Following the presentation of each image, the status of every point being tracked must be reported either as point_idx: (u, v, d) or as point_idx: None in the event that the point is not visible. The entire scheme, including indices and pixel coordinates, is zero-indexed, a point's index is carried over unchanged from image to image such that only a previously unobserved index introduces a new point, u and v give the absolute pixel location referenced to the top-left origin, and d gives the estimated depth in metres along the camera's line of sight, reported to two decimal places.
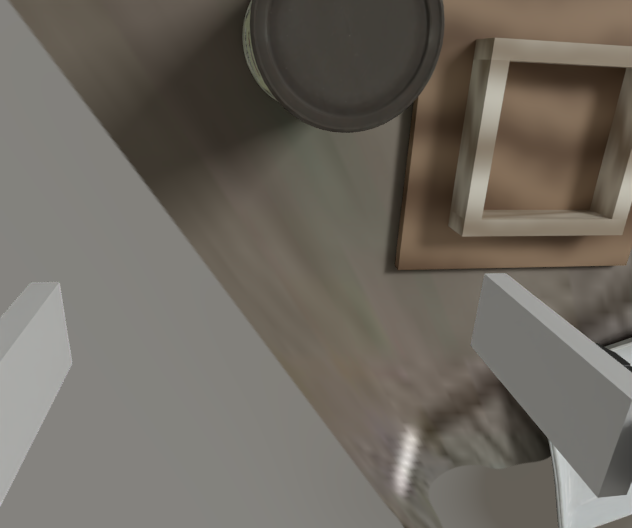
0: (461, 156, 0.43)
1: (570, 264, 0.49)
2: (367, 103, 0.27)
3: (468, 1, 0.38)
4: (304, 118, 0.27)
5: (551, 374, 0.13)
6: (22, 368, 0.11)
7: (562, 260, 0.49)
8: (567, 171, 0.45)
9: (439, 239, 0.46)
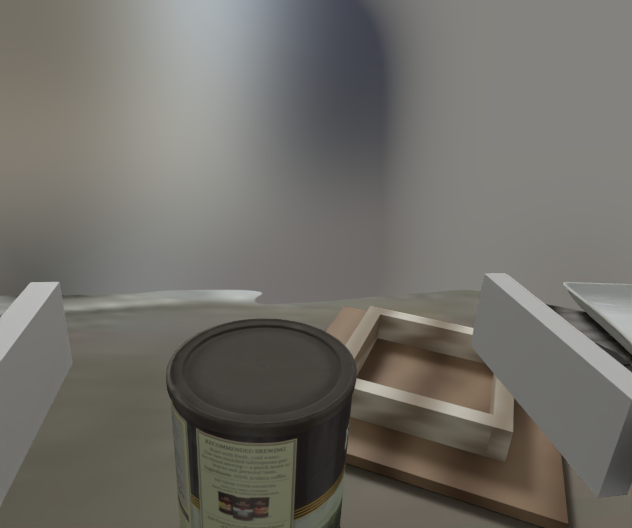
0: (425, 433, 0.41)
1: None
2: (331, 369, 0.27)
3: None
4: (325, 408, 0.24)
5: (551, 374, 0.13)
6: (22, 368, 0.11)
7: None
8: (454, 373, 0.50)
9: (522, 472, 0.38)
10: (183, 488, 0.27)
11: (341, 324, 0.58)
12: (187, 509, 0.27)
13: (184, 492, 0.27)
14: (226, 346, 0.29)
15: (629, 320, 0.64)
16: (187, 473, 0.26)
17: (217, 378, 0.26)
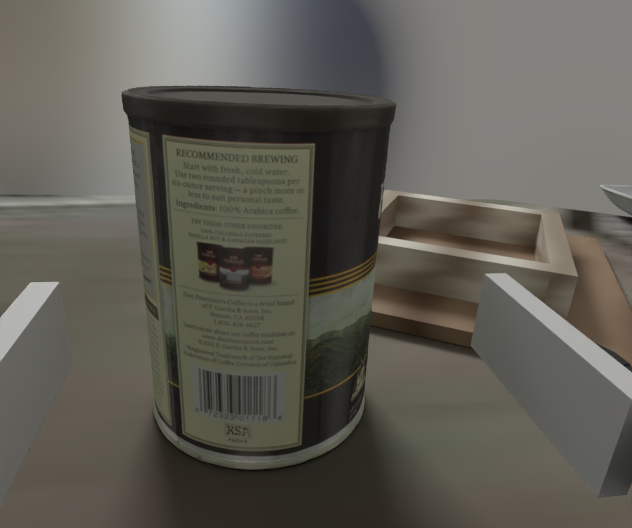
0: (464, 293, 0.33)
1: (604, 260, 0.42)
2: (359, 103, 0.19)
3: None
4: (356, 106, 0.16)
5: (551, 374, 0.13)
6: (22, 368, 0.11)
7: (600, 263, 0.41)
8: (488, 251, 0.42)
9: (590, 328, 0.30)
10: (149, 266, 0.19)
11: None
12: (156, 298, 0.19)
13: (151, 272, 0.19)
14: (210, 92, 0.21)
15: None
16: (152, 232, 0.18)
17: (197, 97, 0.18)
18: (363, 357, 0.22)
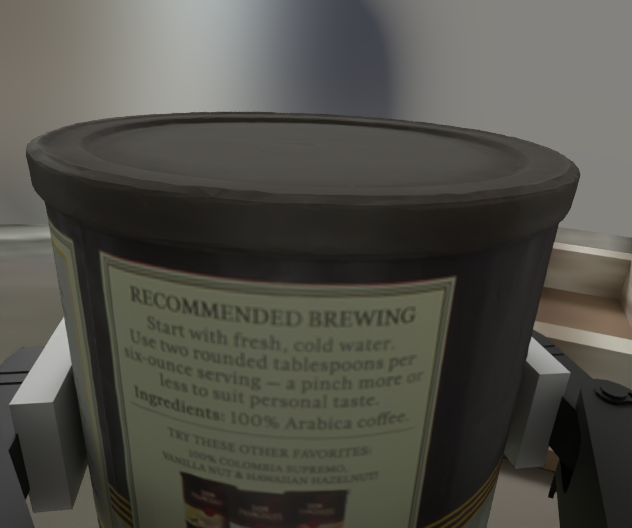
0: None
1: None
2: (487, 153, 0.10)
3: None
4: (542, 183, 0.07)
5: None
6: None
7: None
8: (566, 308, 0.33)
9: None
10: (93, 470, 0.10)
11: None
12: (106, 527, 0.10)
13: (96, 481, 0.10)
14: (211, 128, 0.12)
15: None
16: (93, 423, 0.09)
17: (183, 150, 0.09)
18: None
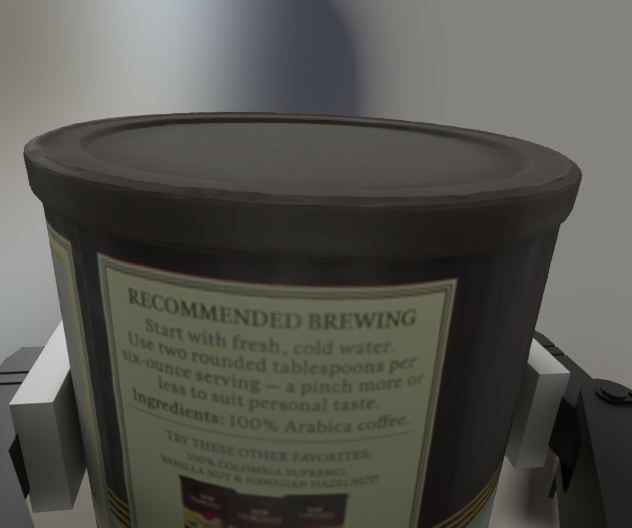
0: None
1: None
2: (488, 153, 0.10)
3: None
4: (544, 184, 0.07)
5: None
6: None
7: None
8: None
9: None
10: (91, 473, 0.10)
11: None
12: None
13: (95, 484, 0.10)
14: (210, 128, 0.12)
15: None
16: (92, 425, 0.09)
17: (182, 150, 0.09)
18: None
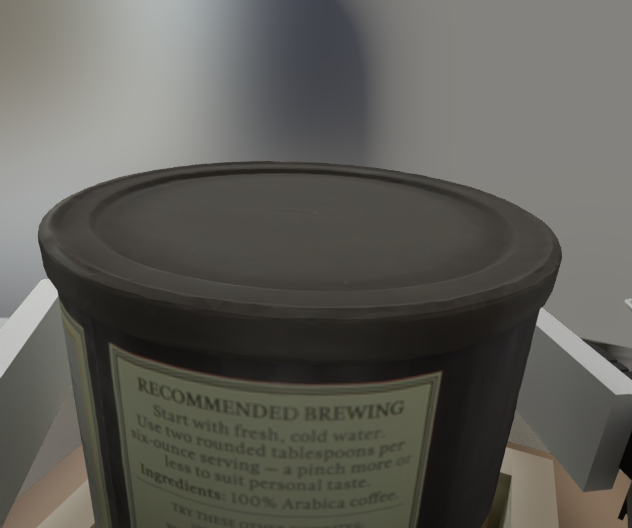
0: None
1: None
2: (477, 220, 0.11)
3: None
4: (524, 278, 0.08)
5: (539, 370, 0.13)
6: (36, 363, 0.12)
7: None
8: None
9: None
10: (99, 526, 0.10)
11: None
12: None
13: None
14: (212, 187, 0.12)
15: None
16: (101, 487, 0.09)
17: (187, 226, 0.10)
18: None
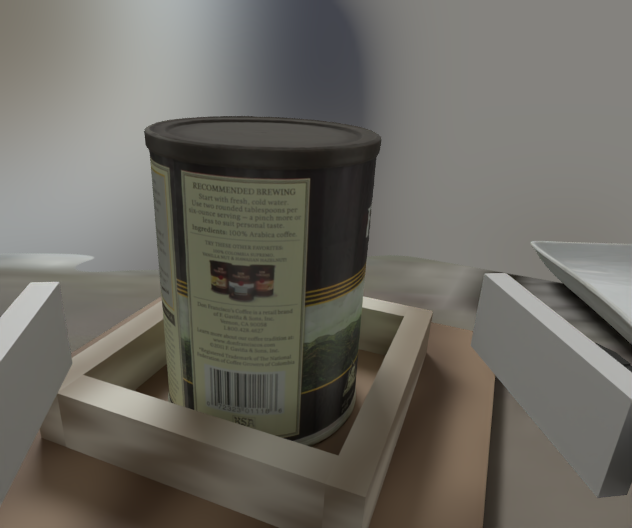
0: (210, 492, 0.20)
1: (490, 386, 0.29)
2: (349, 136, 0.22)
3: None
4: (345, 145, 0.19)
5: (551, 374, 0.13)
6: (22, 368, 0.11)
7: (481, 393, 0.28)
8: None
9: None
10: (167, 279, 0.22)
11: None
12: (172, 307, 0.22)
13: (168, 284, 0.22)
14: (219, 125, 0.24)
15: (625, 293, 0.43)
16: (171, 250, 0.21)
17: (208, 134, 0.21)
18: (354, 358, 0.25)
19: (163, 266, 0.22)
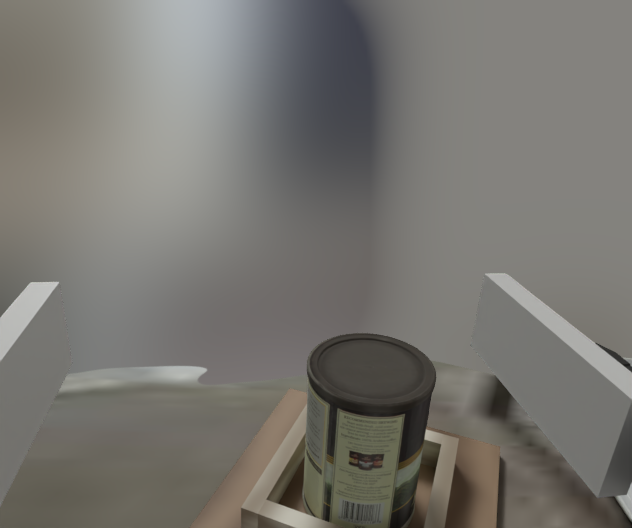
0: None
1: (495, 490, 0.47)
2: (417, 368, 0.40)
3: None
4: (421, 394, 0.37)
5: (551, 374, 0.13)
6: (22, 368, 0.11)
7: (490, 496, 0.46)
8: None
9: None
10: (319, 451, 0.39)
11: (282, 414, 0.55)
12: (321, 465, 0.40)
13: (319, 454, 0.39)
14: (340, 353, 0.42)
15: None
16: (324, 439, 0.39)
17: (344, 376, 0.39)
18: (416, 484, 0.42)
19: (316, 443, 0.40)
